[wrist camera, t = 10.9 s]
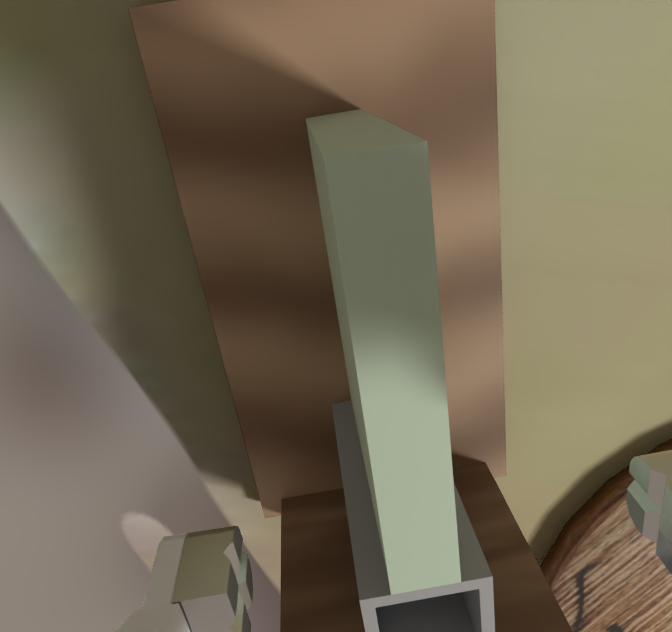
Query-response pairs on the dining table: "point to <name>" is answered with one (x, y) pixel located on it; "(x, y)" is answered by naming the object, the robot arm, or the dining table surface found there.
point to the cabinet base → (312, 258)
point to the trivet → (609, 567)
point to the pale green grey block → (394, 383)
